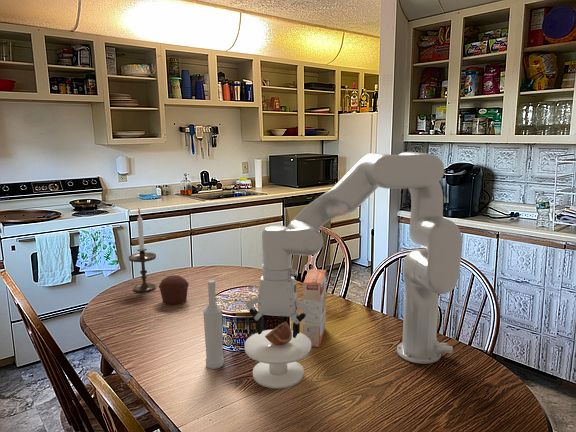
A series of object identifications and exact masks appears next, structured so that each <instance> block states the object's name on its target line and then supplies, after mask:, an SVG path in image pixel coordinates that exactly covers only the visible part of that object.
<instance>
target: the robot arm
mask: <svg viewBox="0 0 576 432" xmlns="http://www.w3.org/2000/svg"><path fill="white" fill-rule="evenodd" d="M444 174H445V164H444V163H443V161H442V159H441V158H440V157H439V156H437V155H435V154H432V153H427V152H426V153H425V152H417V151H404V152H401V153H398V154H389V153H387V154H386V153H379V152H371V153H370V152H369V153H367V154H365V155H364V156H362V158H360V159H359V160H358V161H357V163H355V164H354V166H353V167H351V168H350V169H349V170H348V172H346V173H345V174H344V175H343V176H342V177H341V178H340V180H339V181H338V182H336V184H335V185H333V187H331V189H329V190H328V191H326V192H324V193H323V194H321V195H320V196H318V197H317V198H315V199H314V200H313V201H311V202H309V204H307V205H306V206H304V208H302V210H301V211H300V212H299V213H298V214H297V215H296V216H295V217H293V219H292V220H291V221H290V222H289V223H288V224H287V225H288V226H284V225H269V226H266V227H265V228H263V230H262V234H261V240H262V241H261V243H262V244H261V245H262V248H261V249H262V252H261V253H262V275H261V276H260V279H259V285H258V293H257V295H258V296H256V297H253V298H252V299H250V300H248V301H246V303H245V306H246V308H247V309H248V312H249V314H250V315H251V316H252V317H253V318H254V319H253V320H255V330H257V333H258V334H261V333H262V331H264V327H265V326H264V315H265V316H276V317H289V318H290V319H291V320H292V321H293V323H292V330H293V338H296V336H297V334H299V332H300V330H301V329H300V327H301V326H300V325H301V323H300V322H303V319H304V318H305V316H306V315H307V313H308V311H309V309H310V307H309V306H308V305H306V304H304V303H303V301H301V300H299V299H298V289H297V283H296V278H295V277H294V276H297V274H298V270H296V269H293V266H292V256H293V255H294V256H296V255H297V256H303V257H304V256H306V257H307V256H308V257H309V256H313V255H314V256H315V255H316V254H317V253H319V252H320V251H321V249H322V248H323V247H324V237H323V235H322V233H321V232H320V231H319V229H321V228H322V226H324V225H325V224H326V223H328V222H329V221H330V220H333V219H335V218H337V217H342V216H346V215H349V214H352V213H354V212H355V211H357V210H358V208H359V207H360V206H361V205H362V204H363V203H364V202H365V201H366V200H367V199H368V198H369V197H370V196H371V195H372V193H374V192H375V191H376V190H377V189H378V188H383V189H391V190H392V189H393V190H395V189H396V190H397V189H398V190H399V189H401V190H403V189H408V190H409V193H410V200H411V201H410V205H411V207H410V219H409V221H410V222H409V236H410V239H411V241H412V242H413V243H414V244H416V245H418V246H419V247H422V248H423V249H422V248H420V249H419V248H418V249H417V248H416V249H413V250H411V251H409V252H408V253H407V255H406V256H405V258H404V260H403V263H402V274H403V282H404V302H403V303H404V304H403V322H402V323H403V325H402V342H400V343H399V344H398V345H397V346H396V353H397V355H398V356H399V357H400V358H402V359H403V360H405V361H407V362H411V363H415V364H422V365H425V364H427V365H429V364H432V363H433V364H434V363H436V362H438V361H440V360H441V358H442V353H446V354H453V352H454V349H453V348H454V347H453V346H451V345H448V343H447V342H440V341H439V340H438V338H437V333H438V332H437V330H438V329H437V328H438V316H439V314H438V313H439V301H440V299H439V298H440V296H439V295H447V294H448V293H450V292H451V291H453V290H454V289H455V287H456V286H457V283H458V282H459V277H460V276H459V275H460V271H461V269H460V268H461V258H462V247H463V244H462V243H463V239H462V234H461V230H460V227H459V226H458V225H457V224H456V223H455V222H454V221H452V220H451V219H447V218H445V217H444V215H443V214H444V210H443V209H444V194H443V193H444V192H443V189H442V185H441V183H440V181H441V180H442V179H443V177H444ZM255 304H256V305H257V308H255V306H254V305H255ZM299 308H300V309H301V310H302V312H301V313H300V314H299V313H298V311H297V310H298V309H299ZM300 333H301V332H300Z"/></svg>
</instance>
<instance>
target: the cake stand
mask: <svg viewBox="0 0 576 432" xmlns="http://www.w3.org/2000/svg"><path fill="white" fill-rule="evenodd" d="M273 329H274V328H273ZM273 329H266V330H263V331H262V333H261V334H258V332H255V333H254V334H252V335H250V336H249V337H248V338H247V339H246V340H245V342H244V352H245V354H246V355H247V356H248V357H249V358H250V359H252V360H254V361H256V362H258V363H257V364H255V366H254V367H253V368H252V379H253V380H254V382H255V383H257V384H258V385H259V386H262V387H264V388H268V389H278V390H279V389H287V388H291V387H294V386H296V385H297V384H299V383H301V381H303V378H304V376H305V370H304V367H303V365H302V364H300V363H299V362H298V361H300V360H303V359H304V358H306V357H307V356H308V355H309V354H310V353H311V351H312V347H311V341H310V339H309V338H308V337H307V336H305V335H304V334H303V332H302V333H301V332H299V334H297V336H296V338H293V329H291V331H292V339H291V340H290V341H289V342H288V343H286V344H284V345H276V344H273V343H271V342H270V341H268V340H267V339H266V337H265V336H266V335H267V334H268V333H269V332H270V331H272V330H273Z"/></svg>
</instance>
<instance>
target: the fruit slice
mask: <svg viewBox="0 0 576 432" xmlns="http://www.w3.org/2000/svg"><path fill="white" fill-rule="evenodd" d="M271 330H272V329H271ZM291 330H292V329H291V326H290V324H289V323H288V322H287V321H284V322H282V323H281V324H279V325H277V326H276V327H274V328H273V330H272V331H270V332H269V333H268V334H267V335H266V336H265V337H266V339H267V340H268V341H270V342H271V343H273V344H276V345H284V344H286V343H288V342H289V341H290V340H291V339H292V331H291Z"/></svg>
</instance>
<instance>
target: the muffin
mask: <svg viewBox="0 0 576 432" xmlns="http://www.w3.org/2000/svg"><path fill="white" fill-rule="evenodd" d="M189 286H190V283H189V282H188V281H187V280H186V278H184V277H182V276H180V275H168V276H166V277H164V278H163V279H162V280H161V281H160V283H159V285H158V289H159V290H160V295H161V299H162V303H163V304H165V305H166V306H179V305H182V304H184V303H186V301H187V298H188V296H187V295H188V289H189Z"/></svg>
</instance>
